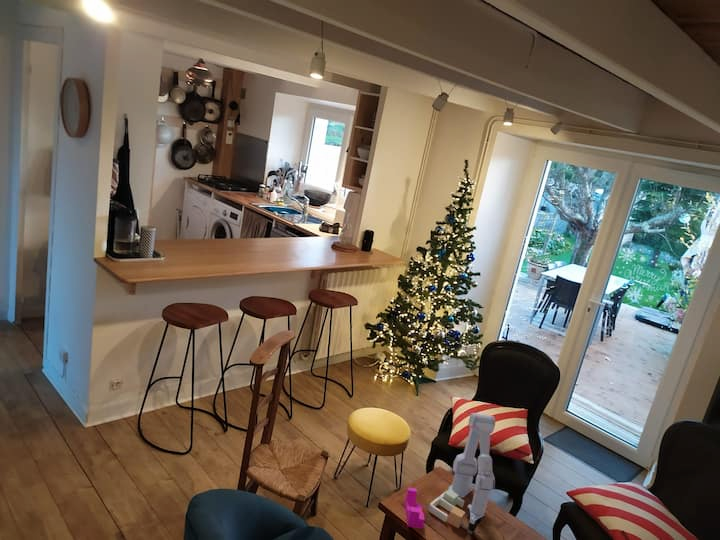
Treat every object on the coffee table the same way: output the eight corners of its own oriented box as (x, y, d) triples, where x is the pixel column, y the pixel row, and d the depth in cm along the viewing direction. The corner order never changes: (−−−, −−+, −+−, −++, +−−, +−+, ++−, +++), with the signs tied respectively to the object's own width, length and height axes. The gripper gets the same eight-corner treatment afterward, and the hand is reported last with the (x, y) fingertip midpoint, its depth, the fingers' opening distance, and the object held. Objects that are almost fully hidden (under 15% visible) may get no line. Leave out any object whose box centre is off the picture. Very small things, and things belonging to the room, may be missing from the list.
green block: (446, 499, 238) (449, 488, 237) (455, 505, 235) (458, 495, 234) (441, 503, 235) (444, 492, 234) (451, 509, 232) (454, 498, 231)
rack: (445, 495, 240) (447, 489, 240) (463, 506, 235) (464, 500, 234) (427, 510, 229) (428, 504, 228) (445, 522, 223) (446, 516, 223)
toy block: (422, 528, 217) (425, 513, 215) (407, 526, 217) (410, 511, 215) (418, 504, 232) (422, 489, 230) (404, 501, 232) (408, 487, 230)
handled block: (452, 517, 227) (455, 505, 226) (475, 530, 222) (478, 518, 220) (447, 522, 223) (450, 510, 222) (471, 536, 218) (474, 523, 216)
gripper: (475, 487, 224) (468, 514, 228) (465, 505, 212) (458, 533, 215) (491, 495, 221) (484, 522, 225) (482, 513, 209) (474, 542, 212)
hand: (472, 528), depth 220 cm, fingers closed on handled block, 3 cm apart
